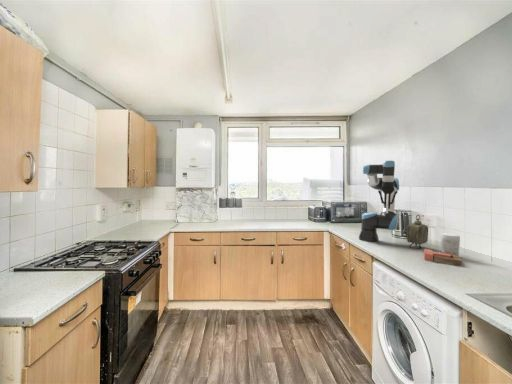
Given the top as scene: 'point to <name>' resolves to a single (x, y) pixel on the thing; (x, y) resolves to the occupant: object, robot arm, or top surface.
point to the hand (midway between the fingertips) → (386, 212)
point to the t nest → (448, 259)
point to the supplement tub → (450, 243)
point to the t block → (429, 254)
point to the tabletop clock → (417, 233)
